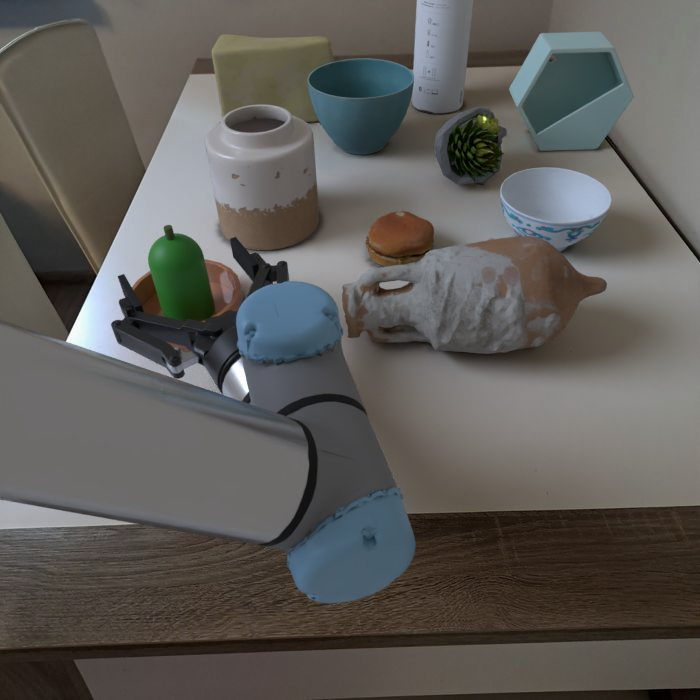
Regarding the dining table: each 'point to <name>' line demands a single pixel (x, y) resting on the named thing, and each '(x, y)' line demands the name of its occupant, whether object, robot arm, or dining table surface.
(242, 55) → the cheese
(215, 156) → the vase
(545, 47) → the planter
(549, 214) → the chinaware
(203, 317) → the green pepper
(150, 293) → the orange bowl
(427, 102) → the white tall cylinder
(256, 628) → the dining table surface
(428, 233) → the burger
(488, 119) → the potted plant
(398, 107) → the plant pot
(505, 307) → the amphora
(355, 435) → the robot arm
